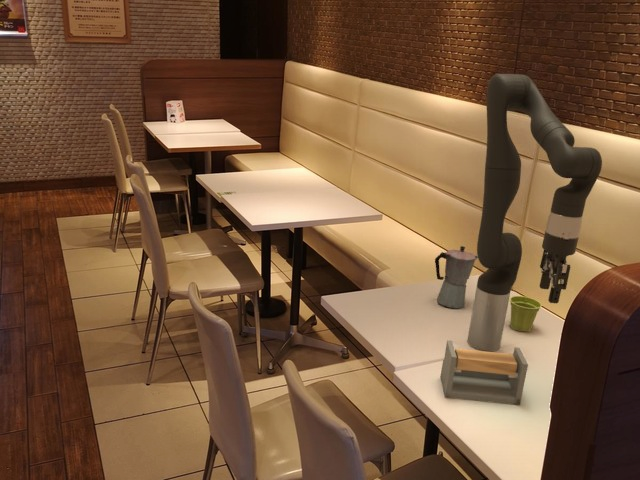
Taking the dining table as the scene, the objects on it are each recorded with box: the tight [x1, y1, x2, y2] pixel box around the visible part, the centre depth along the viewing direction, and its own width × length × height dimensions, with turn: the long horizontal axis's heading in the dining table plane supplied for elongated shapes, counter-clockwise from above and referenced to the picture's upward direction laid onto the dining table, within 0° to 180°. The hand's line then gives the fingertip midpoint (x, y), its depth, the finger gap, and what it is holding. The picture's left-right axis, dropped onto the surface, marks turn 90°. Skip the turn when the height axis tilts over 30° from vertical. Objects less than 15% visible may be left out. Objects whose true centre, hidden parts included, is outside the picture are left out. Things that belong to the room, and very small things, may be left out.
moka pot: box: [434, 245, 478, 309], centre depth 205 cm, size 10×15×20 cm, turn 112°
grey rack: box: [439, 340, 529, 406], centre depth 156 cm, size 10×18×11 cm, turn 87°
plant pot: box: [509, 295, 543, 332], centre depth 194 cm, size 9×9×9 cm
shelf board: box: [454, 348, 517, 375], centre depth 154 cm, size 5×14×3 cm, turn 87°
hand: (548, 295), depth 153 cm, fingers open, 8 cm apart
